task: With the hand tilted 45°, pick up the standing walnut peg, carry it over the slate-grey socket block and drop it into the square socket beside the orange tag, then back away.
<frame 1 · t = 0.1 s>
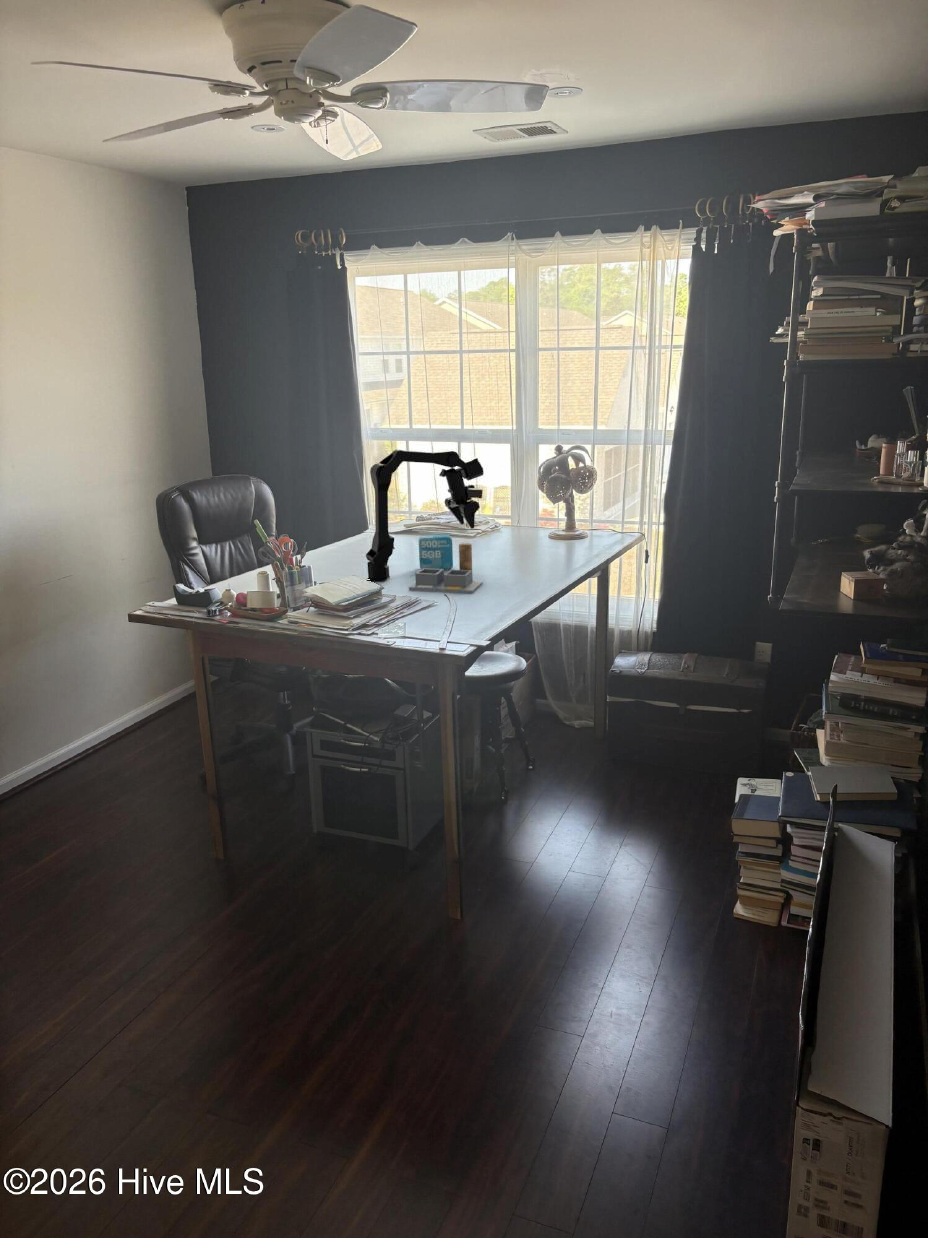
hand: (467, 526, 321), 15 cm above the table, tool pointing down, fingers open, 9 cm apart
data package: (436, 569, 325), on the table
walnut peg: (466, 578, 310), on the table
socket block: (446, 587, 299), on the table
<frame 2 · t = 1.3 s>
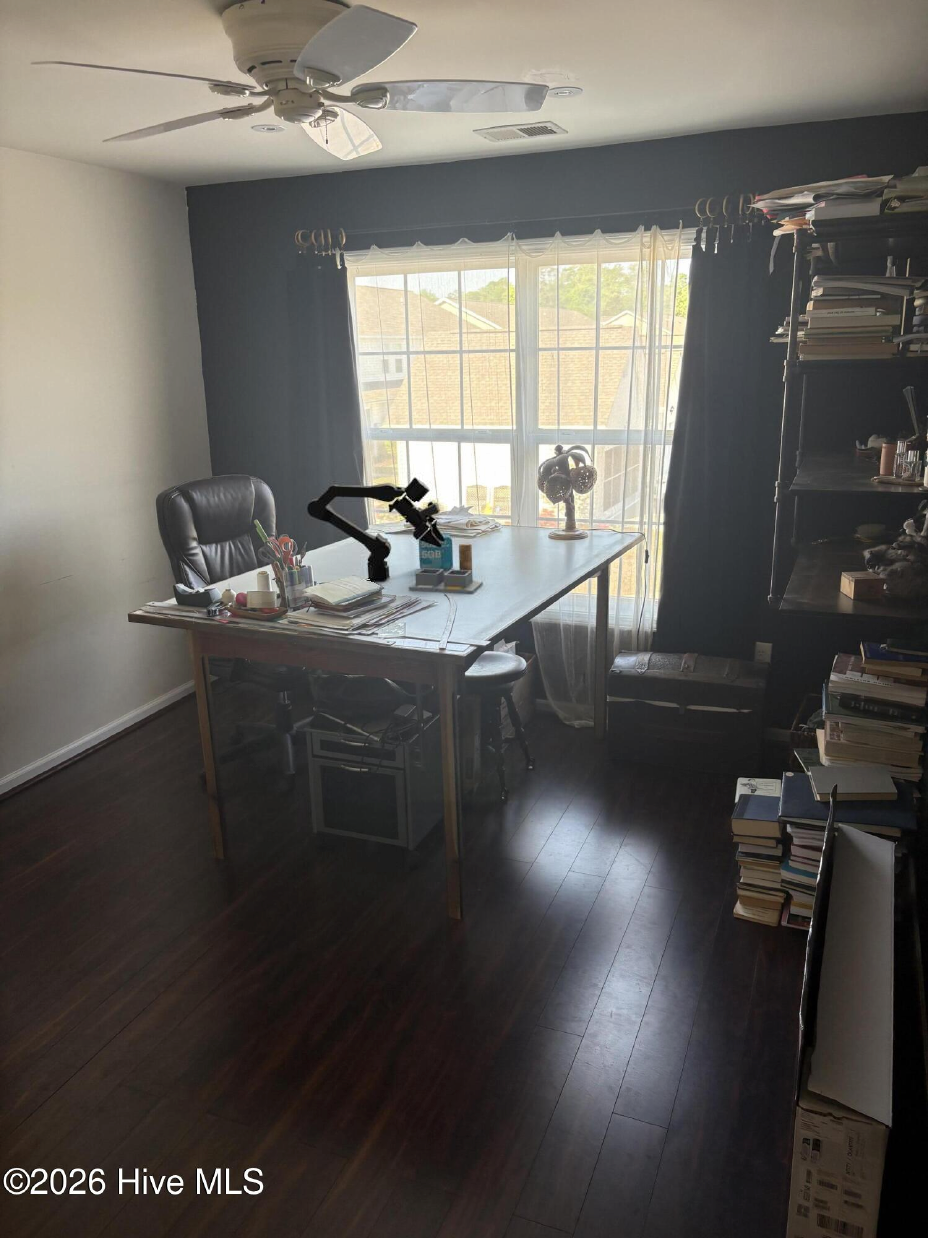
hand: (442, 543, 307), 12 cm above the table, tool tilted 45°, fingers open, 9 cm apart
nothing on the table moved.
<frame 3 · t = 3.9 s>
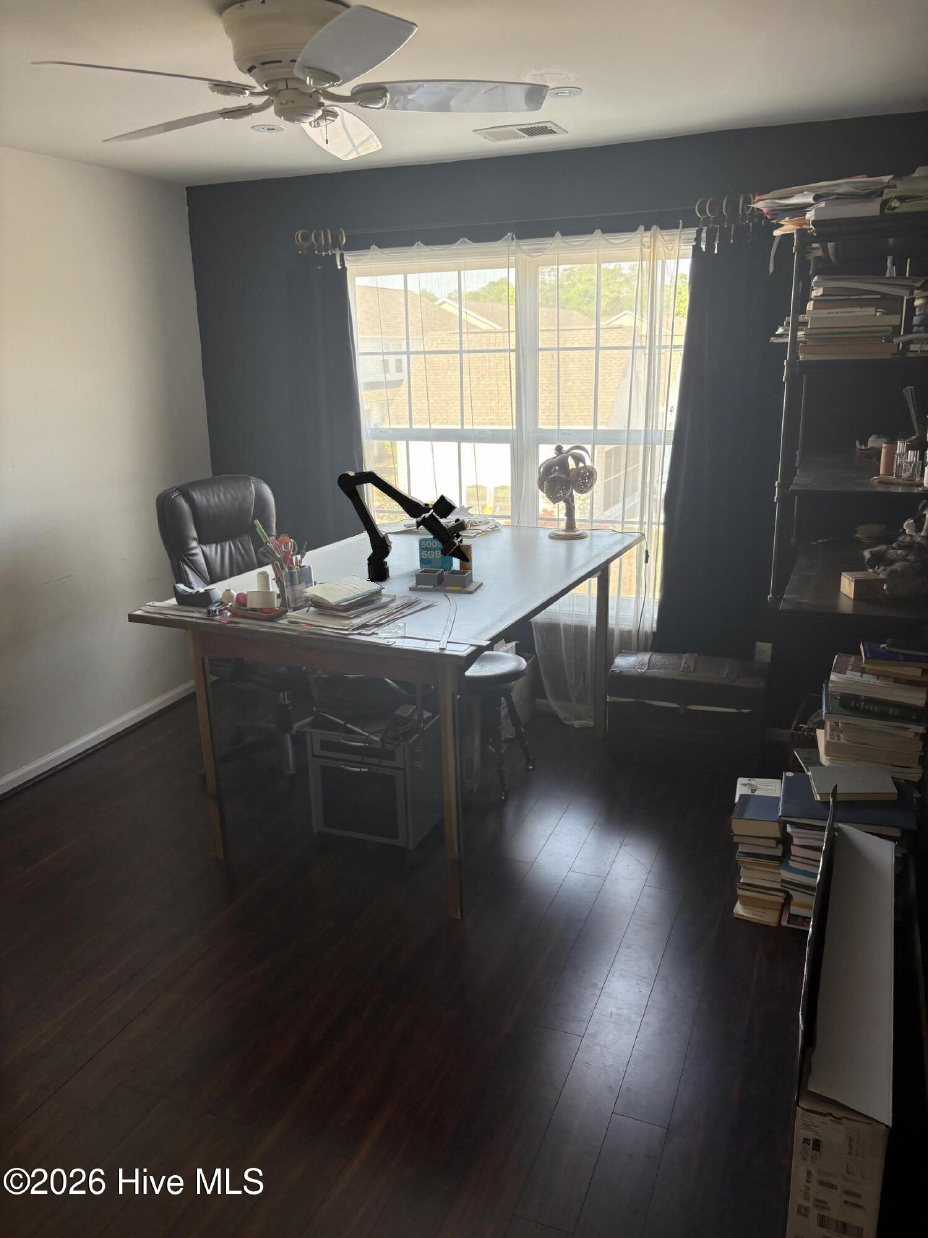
hand: (469, 559, 308), 7 cm above the table, tool tilted 45°, fingers closed on walnut peg, 4 cm apart
walnut peg: (466, 578, 310), on the table, touching gripper
everything else where it was.
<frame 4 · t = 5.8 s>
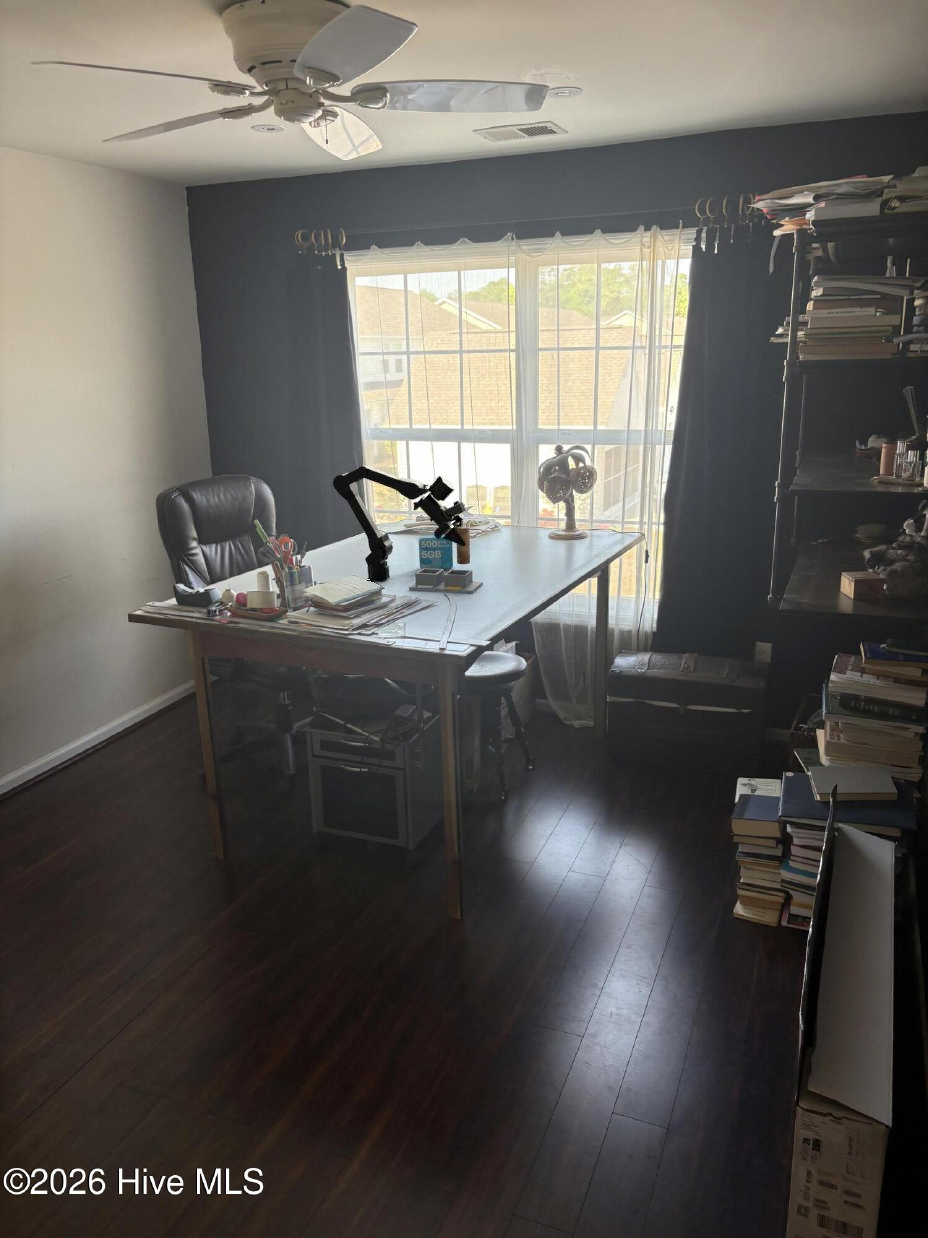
hand: (467, 543, 300), 13 cm above the table, tool tilted 45°, fingers closed on walnut peg, 4 cm apart
walnut peg: (463, 562, 303), point 7 cm above the table, touching gripper
everything else where it was.
when the fingers open (9 cm above the table, at t = 7.7 s): walnut peg drops 1 cm, resting on socket block.
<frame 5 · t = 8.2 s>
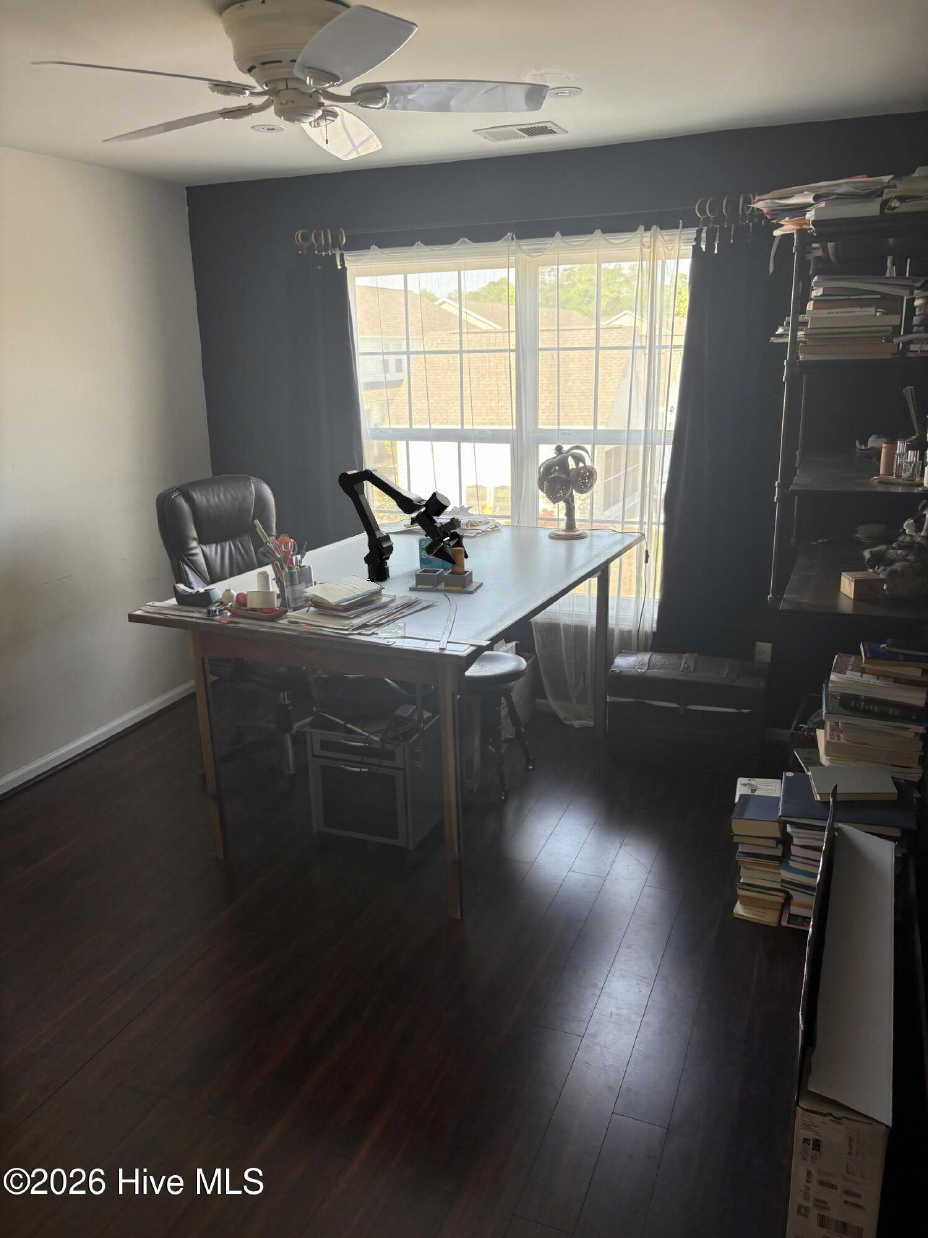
hand: (461, 561, 296), 9 cm above the table, tool tilted 45°, fingers open, 9 cm apart
walnut peg: (458, 584, 299), point 1 cm above the table, touching socket block
everything else where it was.
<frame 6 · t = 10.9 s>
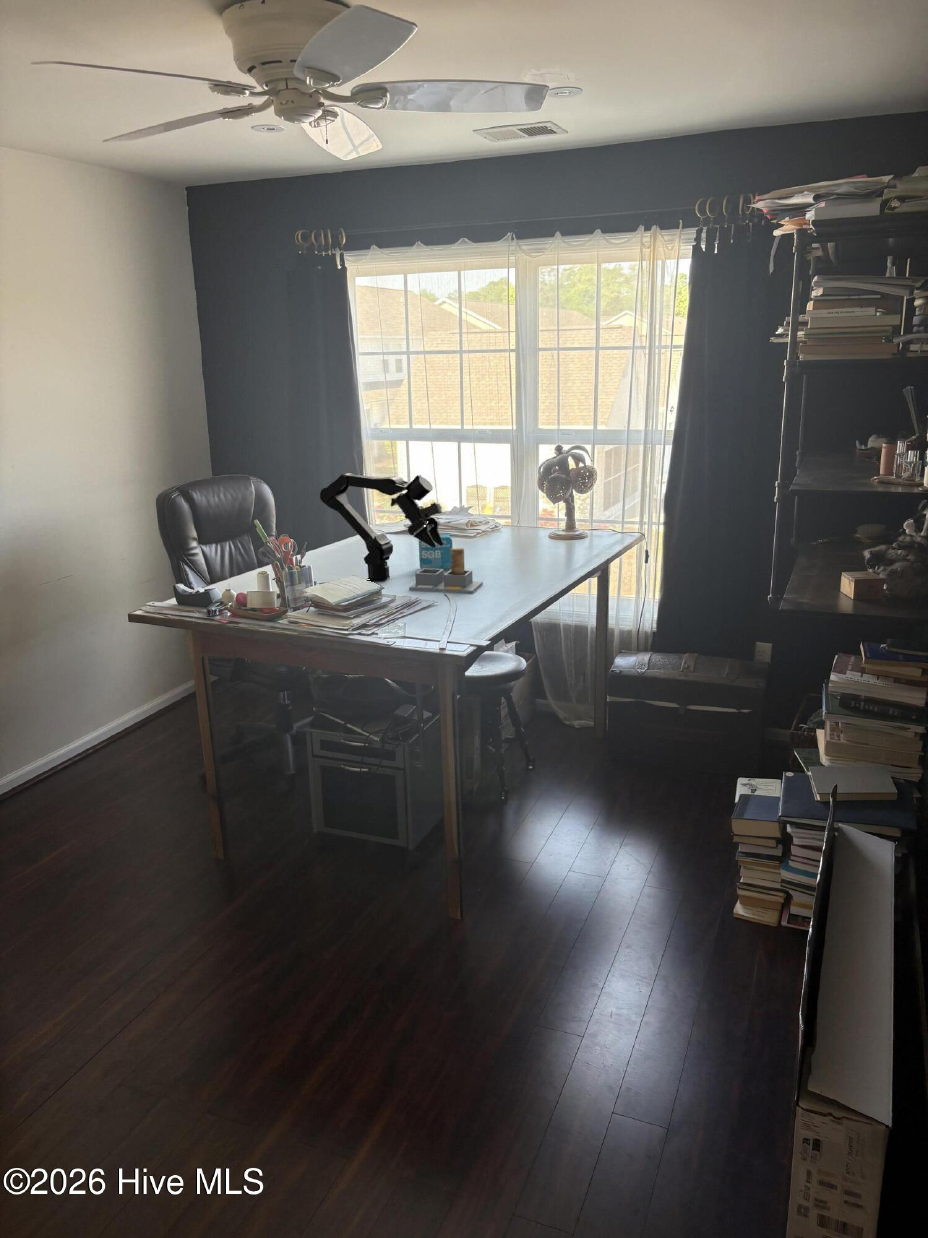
hand: (438, 546, 299), 13 cm above the table, tool tilted 40°, fingers open, 9 cm apart
nothing on the table moved.
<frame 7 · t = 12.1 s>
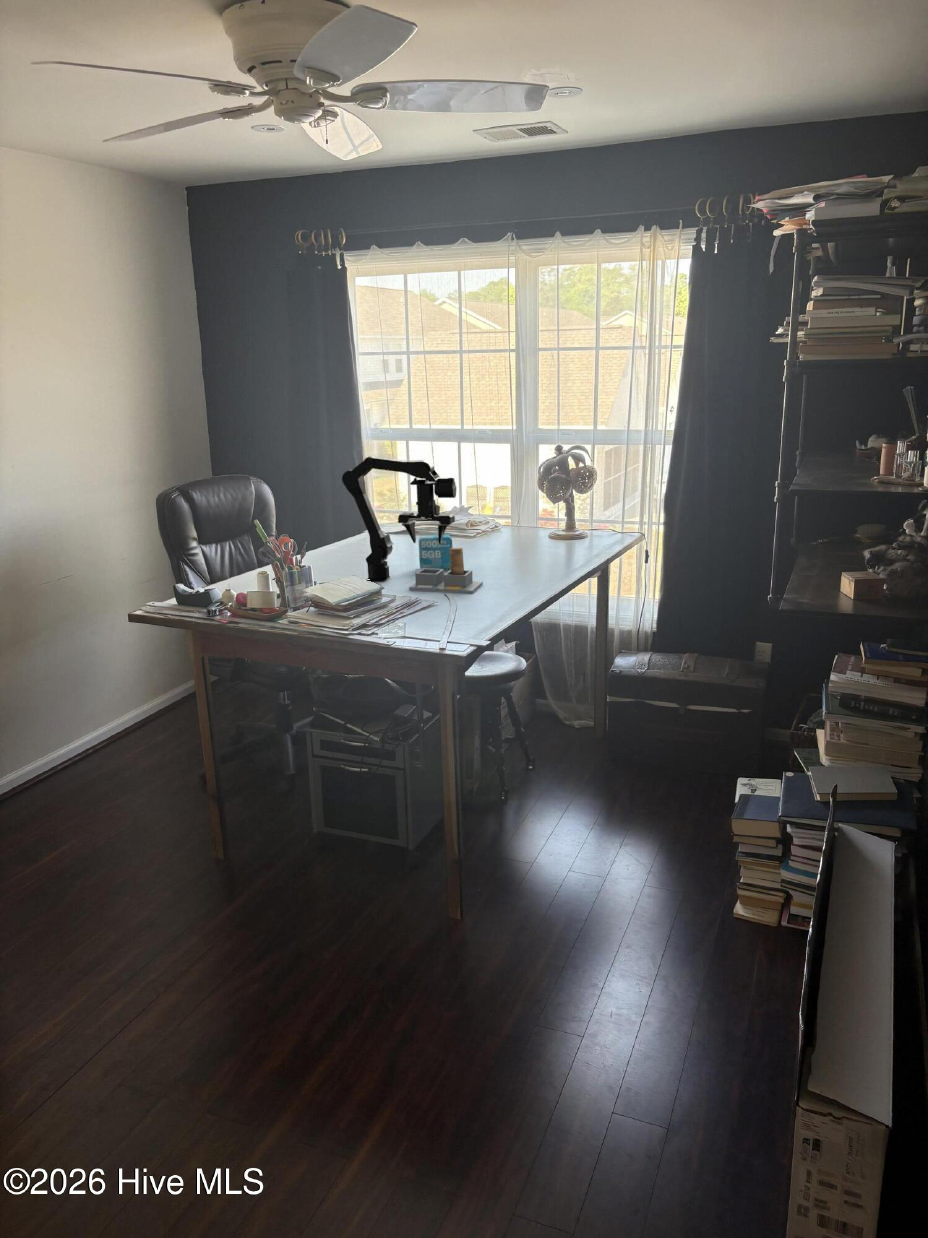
hand: (427, 543, 305), 13 cm above the table, tool pointing down, fingers open, 9 cm apart
nothing on the table moved.
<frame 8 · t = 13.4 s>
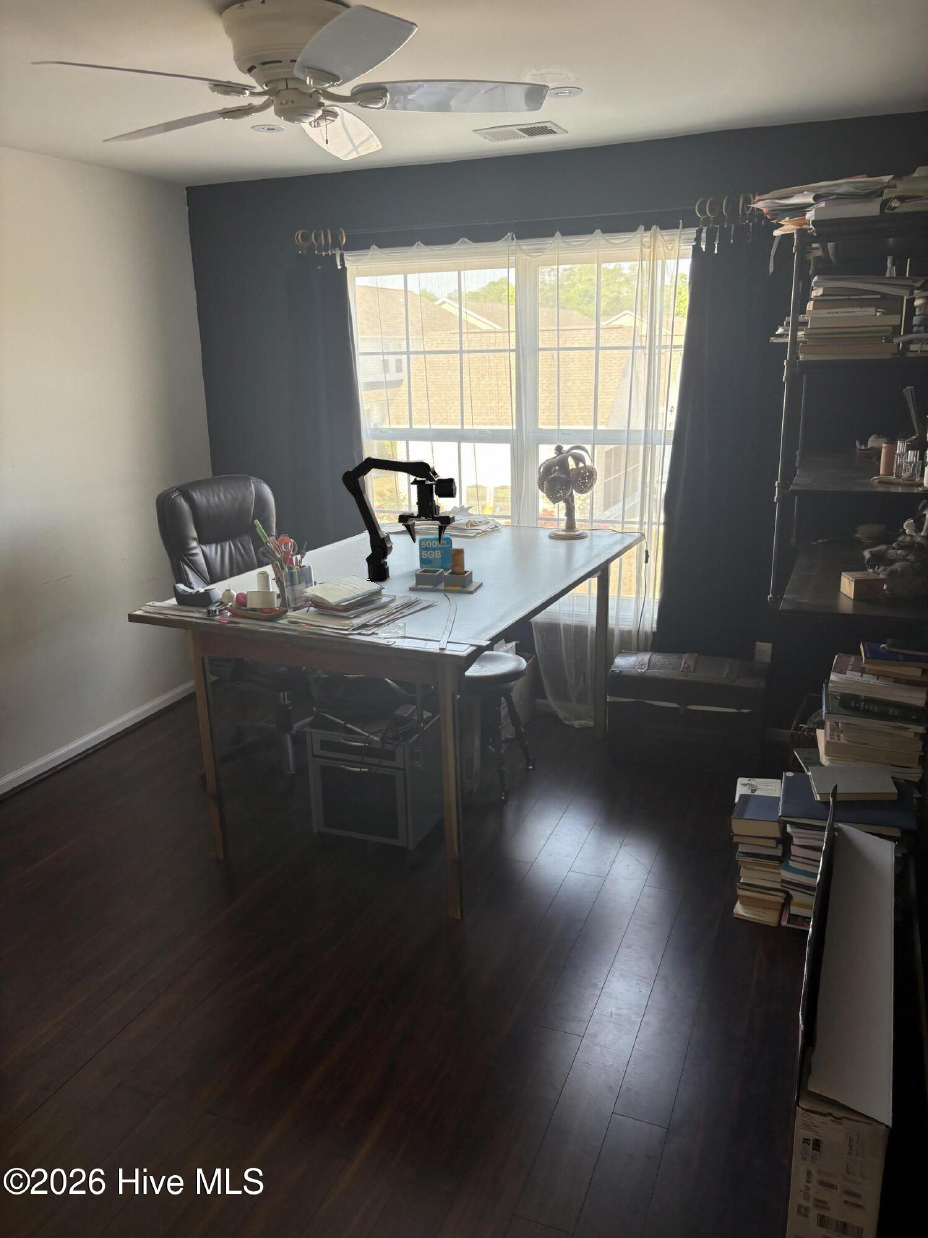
hand: (427, 543, 305), 13 cm above the table, tool pointing down, fingers open, 9 cm apart
nothing on the table moved.
at the end: walnut peg 0.0 cm from the target spot on the socket block, point 1.1 cm above the socket block's base; walnut peg tilted 2°; the gripper is holding nothing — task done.
